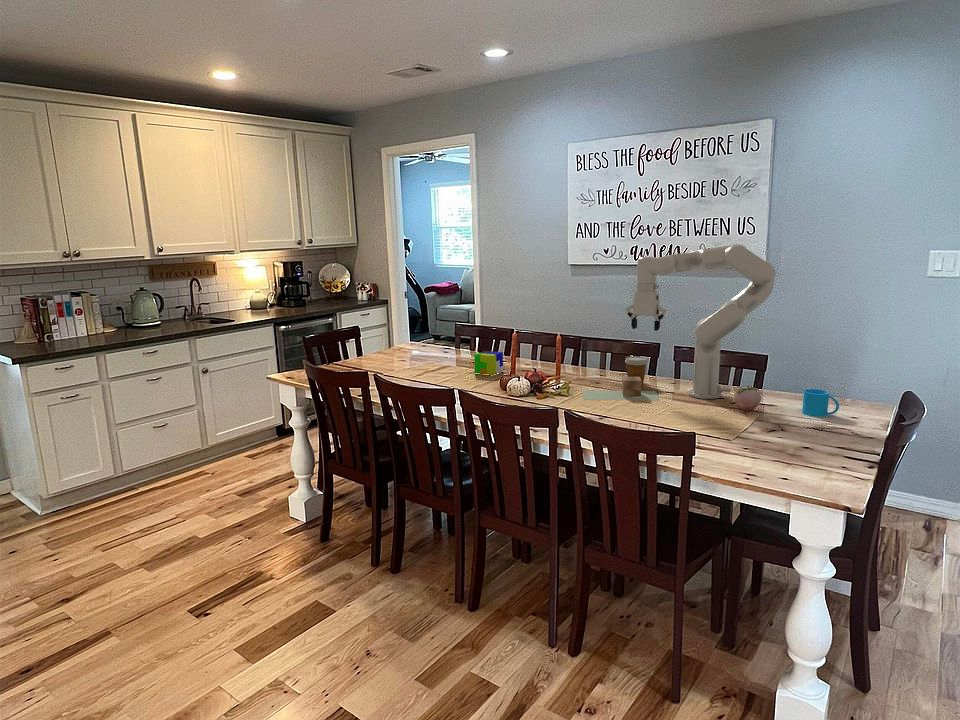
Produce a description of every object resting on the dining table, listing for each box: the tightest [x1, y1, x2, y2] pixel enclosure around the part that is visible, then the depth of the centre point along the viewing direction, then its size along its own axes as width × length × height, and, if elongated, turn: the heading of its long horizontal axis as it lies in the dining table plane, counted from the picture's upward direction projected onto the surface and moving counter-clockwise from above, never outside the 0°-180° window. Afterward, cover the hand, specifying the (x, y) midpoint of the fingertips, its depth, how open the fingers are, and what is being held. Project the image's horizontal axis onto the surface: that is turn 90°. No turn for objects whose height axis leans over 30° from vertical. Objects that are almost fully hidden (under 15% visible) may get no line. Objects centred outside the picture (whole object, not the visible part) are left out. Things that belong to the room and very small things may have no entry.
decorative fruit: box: [733, 385, 762, 413], centre depth 235 cm, size 9×8×10 cm
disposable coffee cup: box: [624, 356, 649, 387], centre depth 278 cm, size 10×10×12 cm
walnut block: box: [621, 376, 642, 398], centre depth 261 cm, size 7×7×7 cm
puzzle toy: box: [473, 350, 504, 375], centre depth 308 cm, size 10×10×10 cm
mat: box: [582, 389, 661, 402], centre depth 262 cm, size 30×15×1 cm, turn 82°
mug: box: [801, 388, 840, 418], centre depth 230 cm, size 12×8×8 cm
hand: (645, 329), depth 263 cm, fingers open, 9 cm apart
